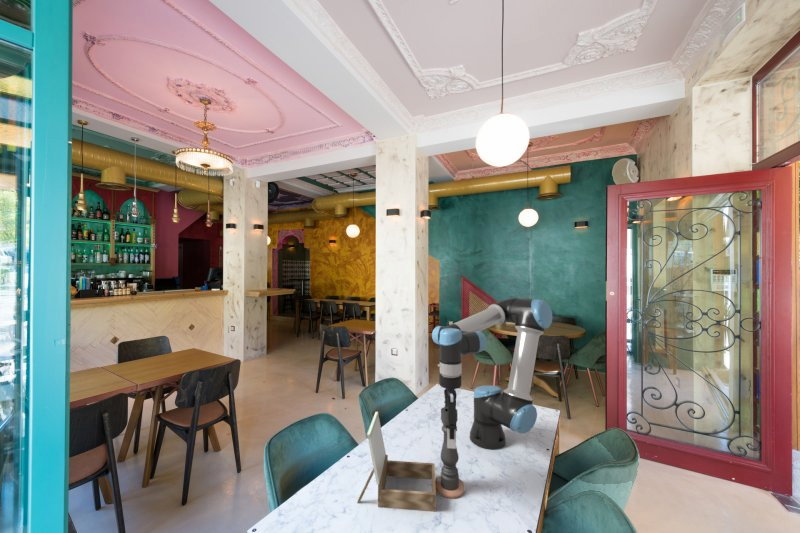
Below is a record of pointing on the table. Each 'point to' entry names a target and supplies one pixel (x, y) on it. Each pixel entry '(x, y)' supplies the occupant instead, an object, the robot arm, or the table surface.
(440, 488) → the saucer
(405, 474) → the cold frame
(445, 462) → the candle holder
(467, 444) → the table surface
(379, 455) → the frame lid
